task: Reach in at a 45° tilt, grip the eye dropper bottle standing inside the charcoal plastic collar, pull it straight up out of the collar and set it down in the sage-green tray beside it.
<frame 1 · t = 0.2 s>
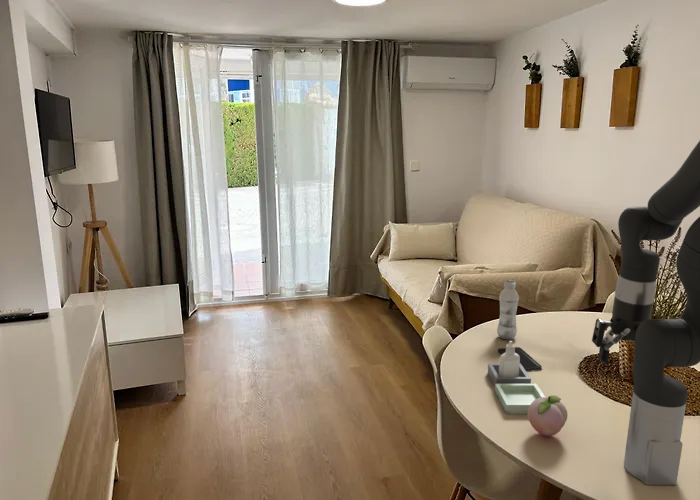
hand: (622, 362, 117), 18 cm above the table, tool pointing down, fingers open, 8 cm apart
plastic bottle: (506, 338, 176), on the table
tray: (521, 402, 135), on the table
collar holder: (508, 380, 146), on the table
decorative fruit: (544, 435, 121), on the table
phone: (518, 361, 160), on the table
eye dropper bottle: (508, 381, 146), resting in collar holder
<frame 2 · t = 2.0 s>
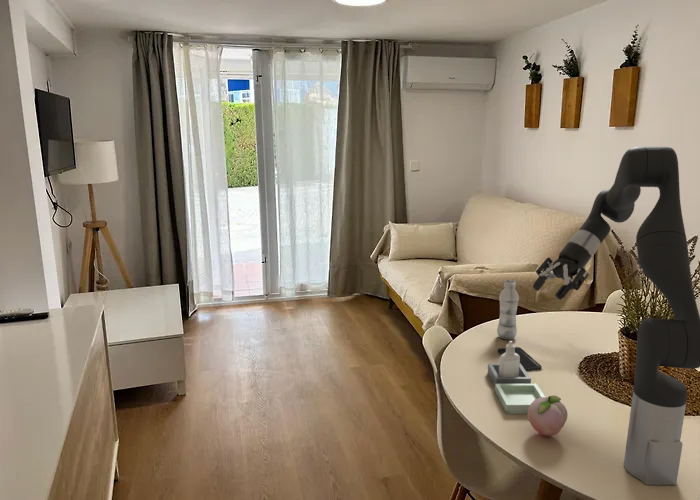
hand: (546, 293, 145), 24 cm above the table, tool tilted 45°, fingers open, 8 cm apart
nothing on the table moved.
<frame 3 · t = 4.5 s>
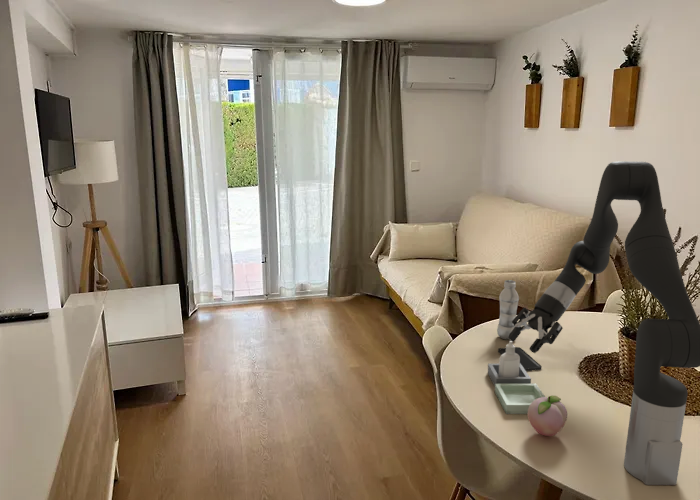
hand: (521, 345, 146), 10 cm above the table, tool tilted 45°, fingers open, 8 cm apart
nothing on the table moved.
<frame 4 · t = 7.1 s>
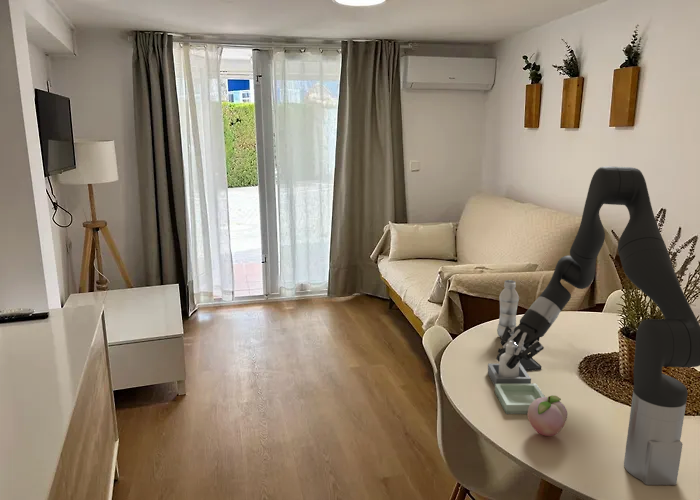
hand: (503, 363, 144), 6 cm above the table, tool tilted 45°, fingers closed on eye dropper bottle, 3 cm apart
eye dropper bottle: (508, 381, 146), resting in collar holder, touching gripper
everything else where it was.
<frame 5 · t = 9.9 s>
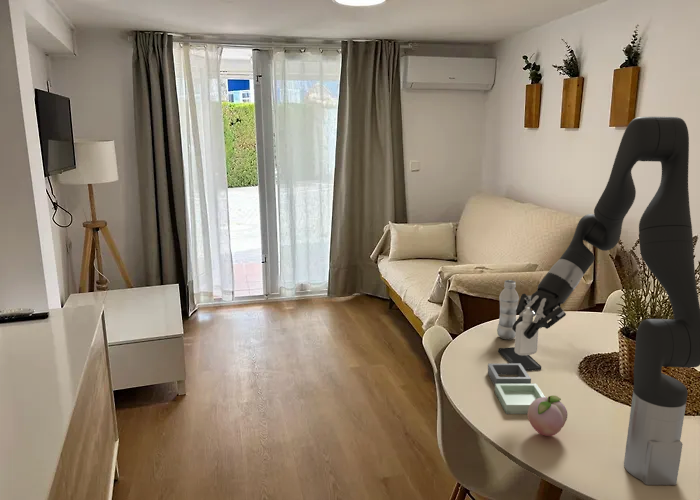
hand: (520, 333, 129), 20 cm above the table, tool tilted 45°, fingers closed on eye dropper bottle, 3 cm apart
eye dropper bottle: (525, 353, 131), point 14 cm above the table, touching gripper
everything else where it was.
when the fingers open (8 cm above the table, at t = 12.9 s): eye dropper bottle drops 1 cm, resting on tray.
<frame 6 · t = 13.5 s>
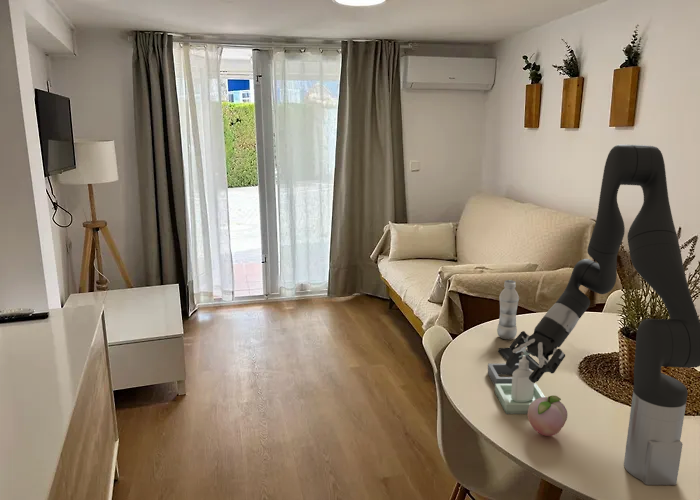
hand: (519, 373, 132), 8 cm above the table, tool tilted 45°, fingers open, 8 cm apart
eye dropper bottle: (522, 399, 135), point 1 cm above the table, touching tray
everything else where it was.
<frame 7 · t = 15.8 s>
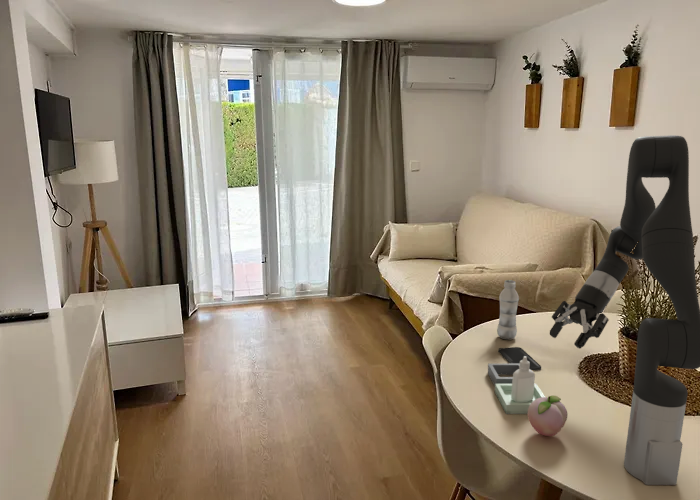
hand: (564, 341, 136), 15 cm above the table, tool tilted 40°, fingers open, 8 cm apart
nothing on the table moved.
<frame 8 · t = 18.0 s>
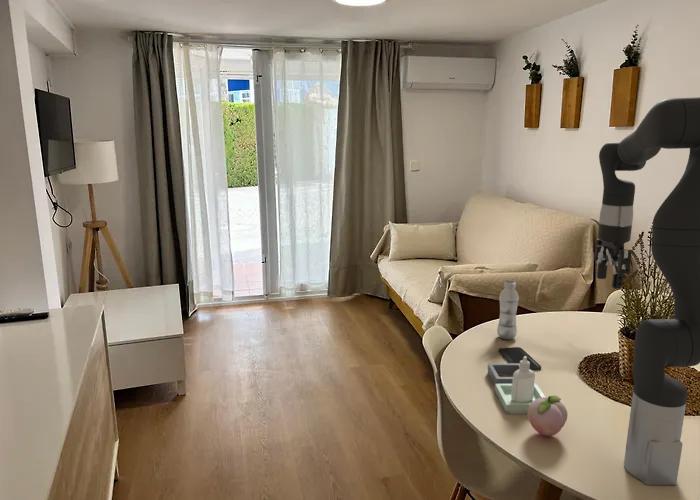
hand: (608, 283, 135), 30 cm above the table, tool pointing down, fingers open, 8 cm apart
nothing on the table moved.
at the end: eye dropper bottle inside the target area on the tray (0.2 cm from its centre), point 0.6 cm above the tray's base; eye dropper bottle tilted 0°; the gripper is holding nothing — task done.
